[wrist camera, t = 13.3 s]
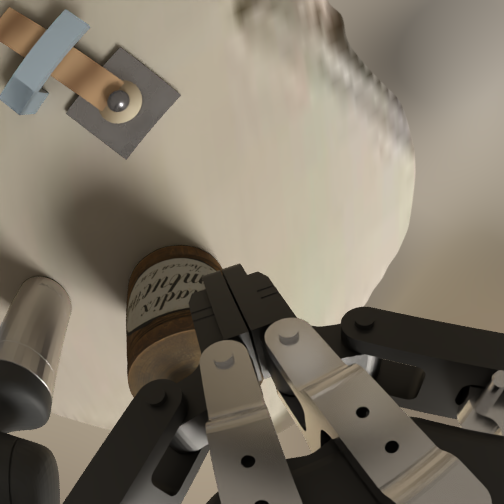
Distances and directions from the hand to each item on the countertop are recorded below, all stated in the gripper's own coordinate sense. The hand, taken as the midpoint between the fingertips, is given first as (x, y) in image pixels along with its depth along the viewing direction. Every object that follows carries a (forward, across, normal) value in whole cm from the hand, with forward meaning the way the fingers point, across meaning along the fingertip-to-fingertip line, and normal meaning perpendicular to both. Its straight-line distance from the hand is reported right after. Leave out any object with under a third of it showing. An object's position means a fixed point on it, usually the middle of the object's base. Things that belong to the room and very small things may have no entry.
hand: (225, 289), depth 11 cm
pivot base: (+29, +4, -9) cm, 31 cm away
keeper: (+29, +12, -18) cm, 36 cm away
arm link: (+28, +10, -17) cm, 34 cm away
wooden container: (+29, +5, +18) cm, 35 cm away
